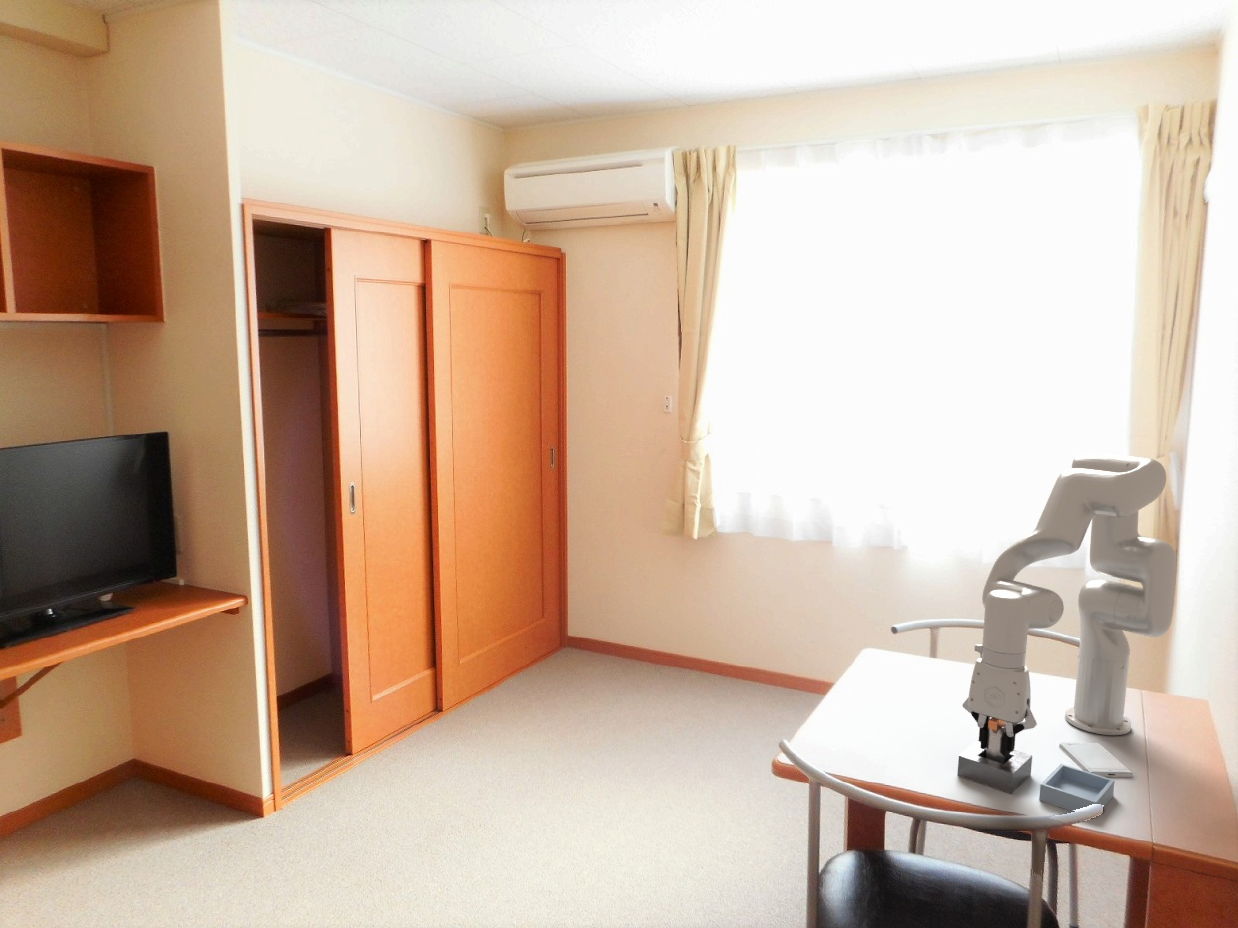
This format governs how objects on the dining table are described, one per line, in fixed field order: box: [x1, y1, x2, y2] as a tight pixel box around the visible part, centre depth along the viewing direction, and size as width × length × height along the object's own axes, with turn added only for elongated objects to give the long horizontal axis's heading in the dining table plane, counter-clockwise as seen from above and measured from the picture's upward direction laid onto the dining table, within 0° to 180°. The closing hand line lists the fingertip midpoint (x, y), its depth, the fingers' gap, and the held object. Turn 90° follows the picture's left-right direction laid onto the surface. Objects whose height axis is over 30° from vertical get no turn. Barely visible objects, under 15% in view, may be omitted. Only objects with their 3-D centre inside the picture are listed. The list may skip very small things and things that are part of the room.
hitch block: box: [957, 739, 1033, 795], centre depth 172 cm, size 10×10×4 cm
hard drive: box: [1058, 742, 1134, 778], centre depth 178 cm, size 2×8×12 cm
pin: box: [986, 717, 1006, 764], centre depth 171 cm, size 3×5×12 cm
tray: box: [1038, 763, 1115, 812], centre depth 164 cm, size 11×9×3 cm
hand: (996, 749), depth 171 cm, fingers closed on pin, 3 cm apart
